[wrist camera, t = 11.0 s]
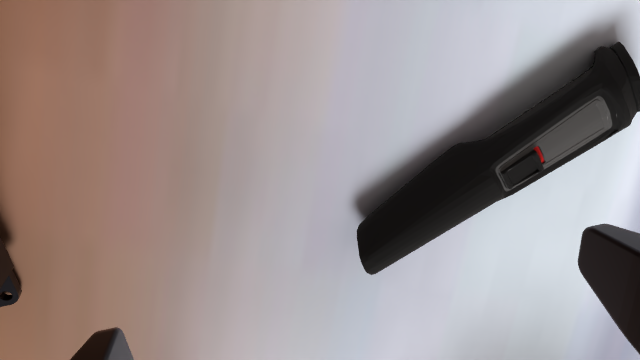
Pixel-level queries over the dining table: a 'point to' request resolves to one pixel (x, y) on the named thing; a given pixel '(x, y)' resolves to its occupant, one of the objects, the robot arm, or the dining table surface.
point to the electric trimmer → (504, 160)
